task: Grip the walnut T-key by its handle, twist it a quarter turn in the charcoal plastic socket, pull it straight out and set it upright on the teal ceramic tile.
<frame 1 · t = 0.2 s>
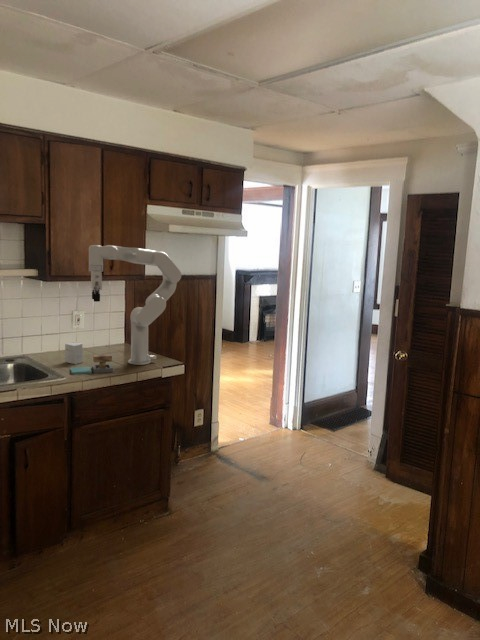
hand: (95, 300, 286), 36 cm above the worktop, tool pointing down, fingers open, 9 cm apart
t-key: (102, 362, 281), in the socket
tile: (81, 371, 278), on the worktop
small box: (74, 362, 296), on the worktop
socket: (102, 370, 282), on the worktop
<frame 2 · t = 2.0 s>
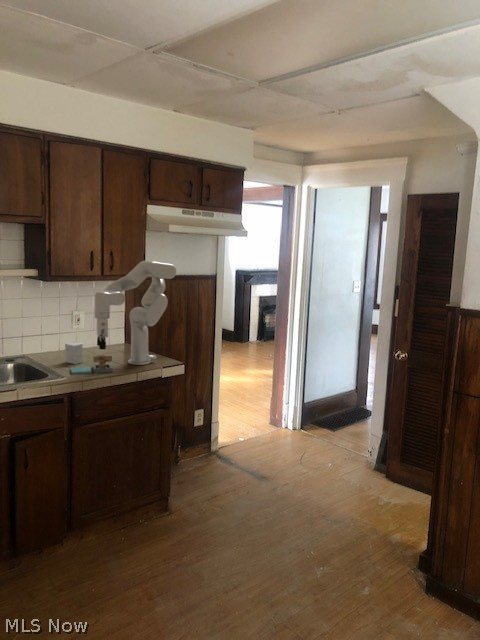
hand: (101, 347, 279), 12 cm above the worktop, tool pointing down, fingers open, 9 cm apart
nothing on the worktop moved.
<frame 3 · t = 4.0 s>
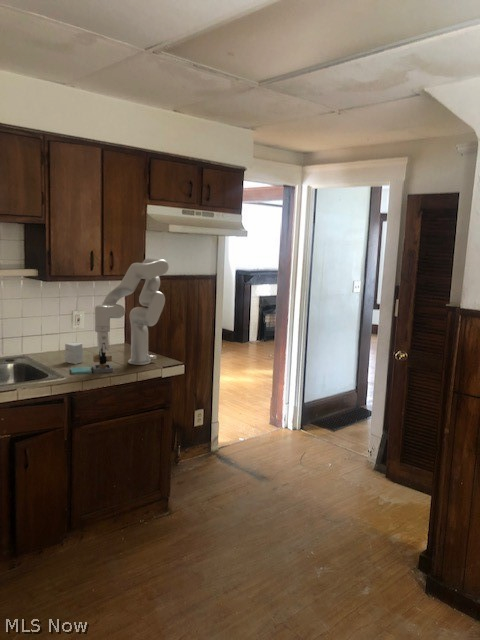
hand: (102, 362, 281), 4 cm above the worktop, tool pointing down, fingers closed on t-key, 4 cm apart
t-key: (102, 362, 281), in the socket, touching gripper
everything else where it was.
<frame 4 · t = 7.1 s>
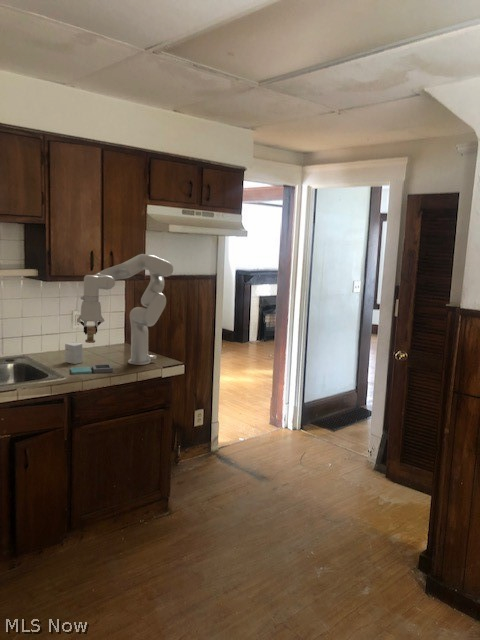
hand: (90, 333, 276), 20 cm above the worktop, tool pointing down, fingers closed on t-key, 4 cm apart
t-key: (90, 334, 276), point 20 cm above the worktop, touching gripper
everything else where it was.
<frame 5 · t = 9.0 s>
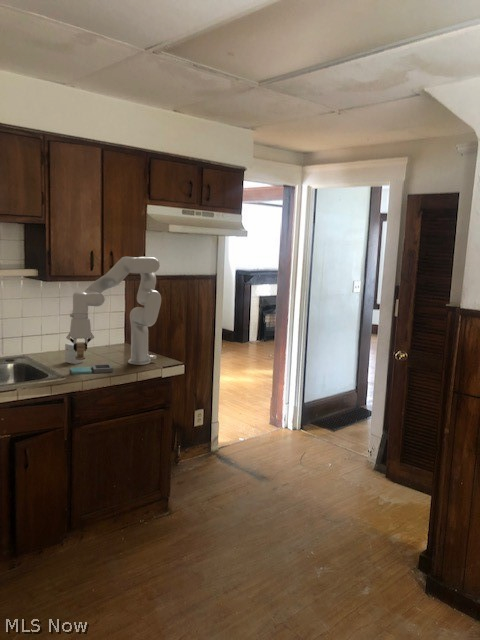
hand: (80, 350, 276), 11 cm above the worktop, tool pointing down, fingers closed on t-key, 4 cm apart
t-key: (80, 351, 276), point 11 cm above the worktop, touching gripper
everything else where it was.
when the fingers open (6 cm above the worktop, at t = 10.6 s): t-key stays where it is, resting on tile.
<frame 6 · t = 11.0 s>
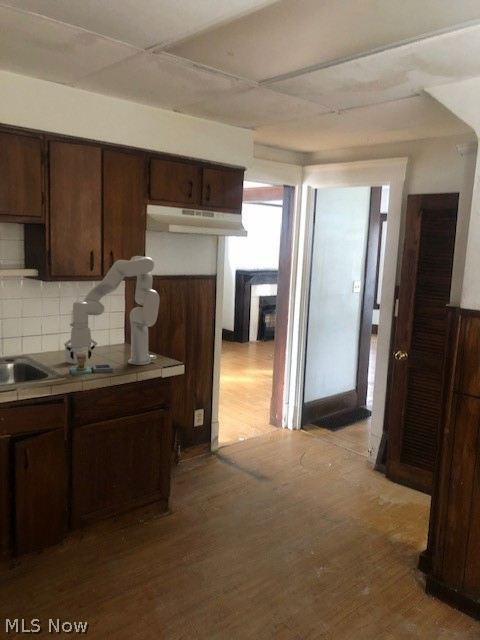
hand: (80, 358, 277), 7 cm above the worktop, tool pointing down, fingers open, 7 cm apart
t-key: (81, 361, 277), on the tile, point 5 cm above the worktop
everything else where it was.
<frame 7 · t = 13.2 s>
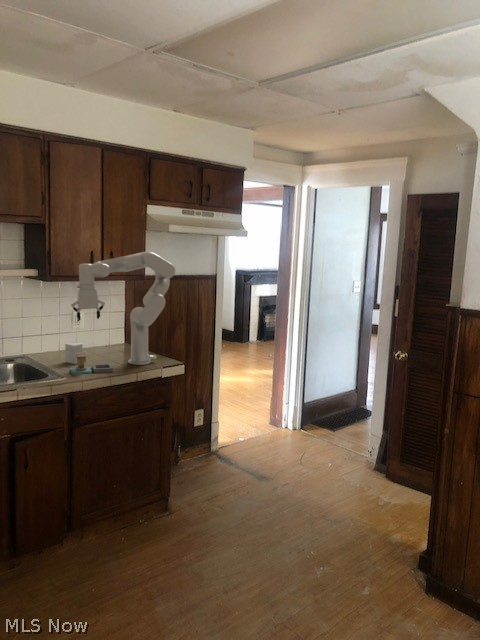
hand: (88, 319, 282), 26 cm above the worktop, tool pointing down, fingers open, 9 cm apart
nothing on the worktop moved.
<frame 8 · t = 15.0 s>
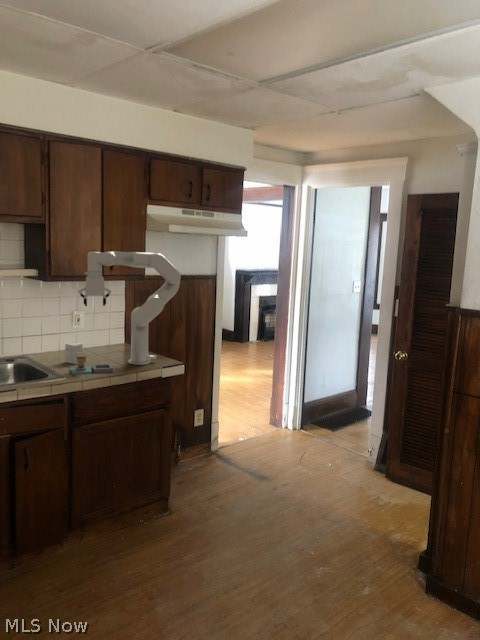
hand: (94, 305, 291), 32 cm above the worktop, tool pointing down, fingers open, 9 cm apart
nothing on the worktop moved.
at the end: t-key 0.1 cm off-centre on the tile, point 5.0 cm above the tile's base; t-key tilted 0°; the gripper is holding nothing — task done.
